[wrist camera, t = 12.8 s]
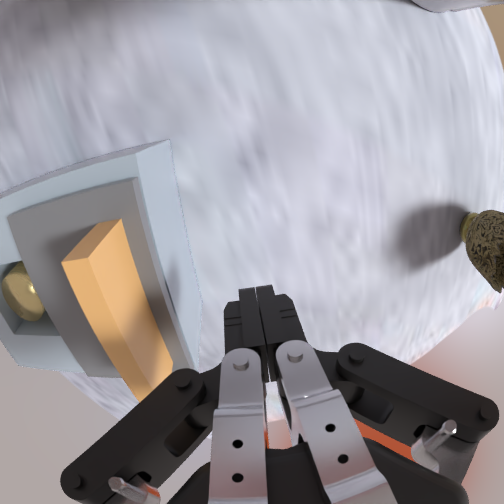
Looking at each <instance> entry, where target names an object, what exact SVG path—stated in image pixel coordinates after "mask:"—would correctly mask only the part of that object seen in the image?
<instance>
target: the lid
mask: <svg viewBox="0 0 504 504" xmlns="http://www.w3.org/2000/svg"><path fill="white" fill-rule="evenodd" d="M7 220H8V223H9V226H10V229H11V232H12V235H13V238H14V240H15V243H16V246H17V249H18V251H19V254H20V256H21V259H22V261H23V263H24V266H25V268H26V270H27V273H28V275H29V277H30V279H31V282H32V284H33V286H34V288H35V290H36V292H37V294H38V296H39V298H40V300H41V302H42V304H43V306H44V308H45V309H46V311H47V313H48V315H49V317H50V319H51V320H52V322H53V324H54V326H55V327H56V329H57V331H58V332H59V334H60V336H61V337H62V339H63V340H64V342H65V344H66V345H67V347H68V348H69V350H70V351H71V353H72V354H73V356H74V357H75V359H76V360H77V362H78V363H79V365H80V366H81V367H82V369H83V370H84V372H85V373H86V374H87V376H89V377H108V378H123V380H124V381H125V383H126V384H127V386H128V387H129V389H130V390H131V391H132V393H133V394H134V396H135V397H136V398H137V400H138V401H139V402H141V401H142V400H143V399H144V398H145V397H146V396H147V395H148V394H150V393H151V392H152V391H153V390H154V389H155V388H156V387H157V386H158V385H159V384H160V383H161V382H162V381H163V380H164V379H165V378H167V377H168V376H169V375H170V374H171V373H172V372H174V371H176V370H178V369H183V368H190V369H194V365H193V362H192V360H191V357H190V354H189V352H188V349H187V346H186V344H185V341H184V338H183V335H182V333H181V330H180V327H179V324H178V321H177V318H176V316H175V313H174V310H173V307H172V304H171V301H170V297H169V294H168V291H167V288H166V285H165V282H164V278H163V275H162V272H161V268H160V265H159V261H158V258H157V254H156V251H155V247H154V243H153V239H152V236H151V232H150V228H149V224H148V220H147V216H146V211H145V207H144V203H143V198H142V194H141V189H140V185H139V180H138V177H133V178H129V179H124V180H120V181H116V182H112V183H108V184H104V185H100V186H96V187H92V188H88V189H85V190H81V191H77V192H74V193H71V194H67V195H64V196H60V197H57V198H54V199H51V200H48V201H45V202H42V203H39V204H36V205H33V206H30V207H27V208H24V209H21V210H19V211H16V212H14V213H12V214H11V215H9V216H8V217H7Z"/></svg>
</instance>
